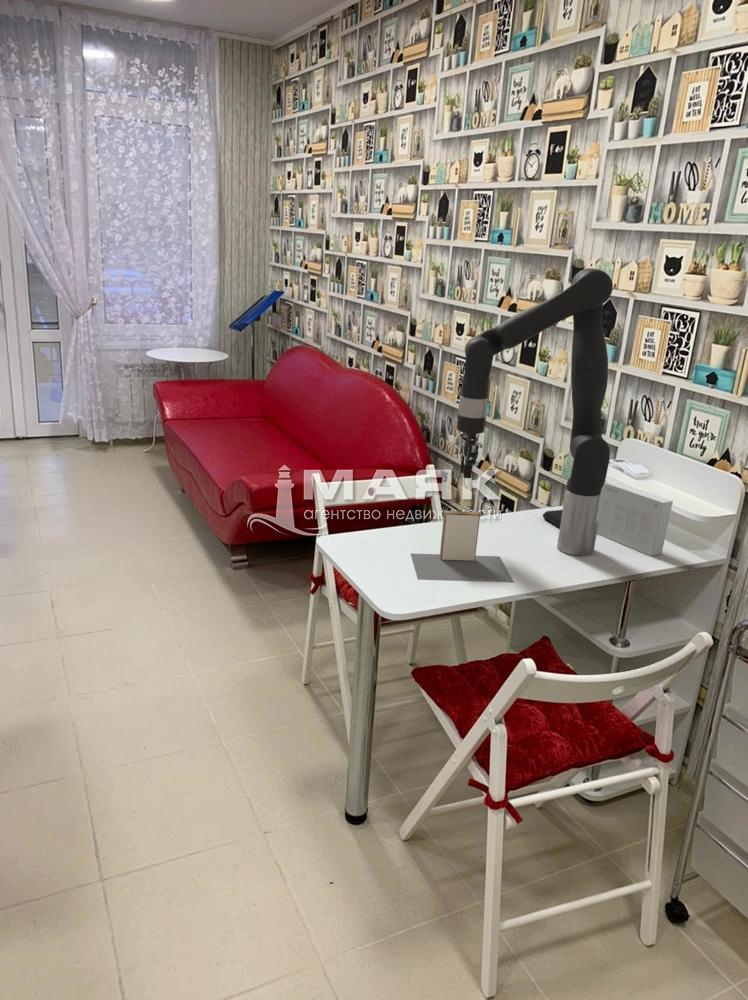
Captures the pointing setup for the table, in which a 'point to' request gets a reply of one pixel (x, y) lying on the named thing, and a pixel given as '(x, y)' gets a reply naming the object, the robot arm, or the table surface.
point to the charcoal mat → (460, 569)
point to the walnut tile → (459, 535)
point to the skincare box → (633, 517)
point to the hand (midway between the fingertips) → (465, 474)
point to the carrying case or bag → (553, 517)
